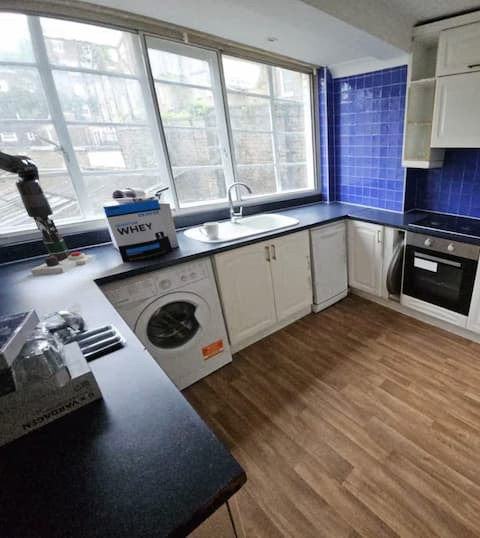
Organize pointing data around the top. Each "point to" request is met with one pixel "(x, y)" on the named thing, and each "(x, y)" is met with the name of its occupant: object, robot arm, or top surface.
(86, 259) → the switch block
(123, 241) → the protein powder
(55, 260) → the dial
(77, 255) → the power button
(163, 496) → the top surface
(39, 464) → the top surface
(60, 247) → the beer bottle
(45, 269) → the control panel
